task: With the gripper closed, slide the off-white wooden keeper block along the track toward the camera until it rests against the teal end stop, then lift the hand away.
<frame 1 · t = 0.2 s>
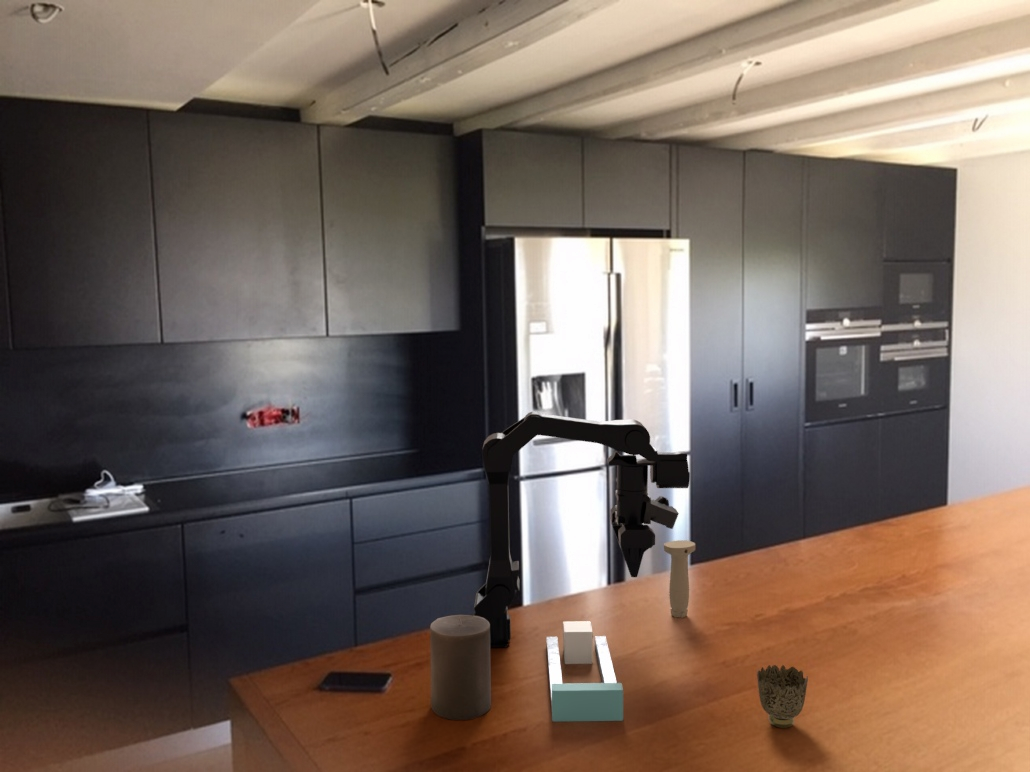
hand: (630, 569, 167), 14 cm above the kitchen island, fingers open, 9 cm apart
handle: (679, 616, 181), on the kitchen island
keeper block: (577, 658, 161), resting in track
track: (580, 677, 153), on the kitchen island
pillar candle: (461, 707, 144), on the kitchen island
cup: (781, 725, 136), on the kitchen island
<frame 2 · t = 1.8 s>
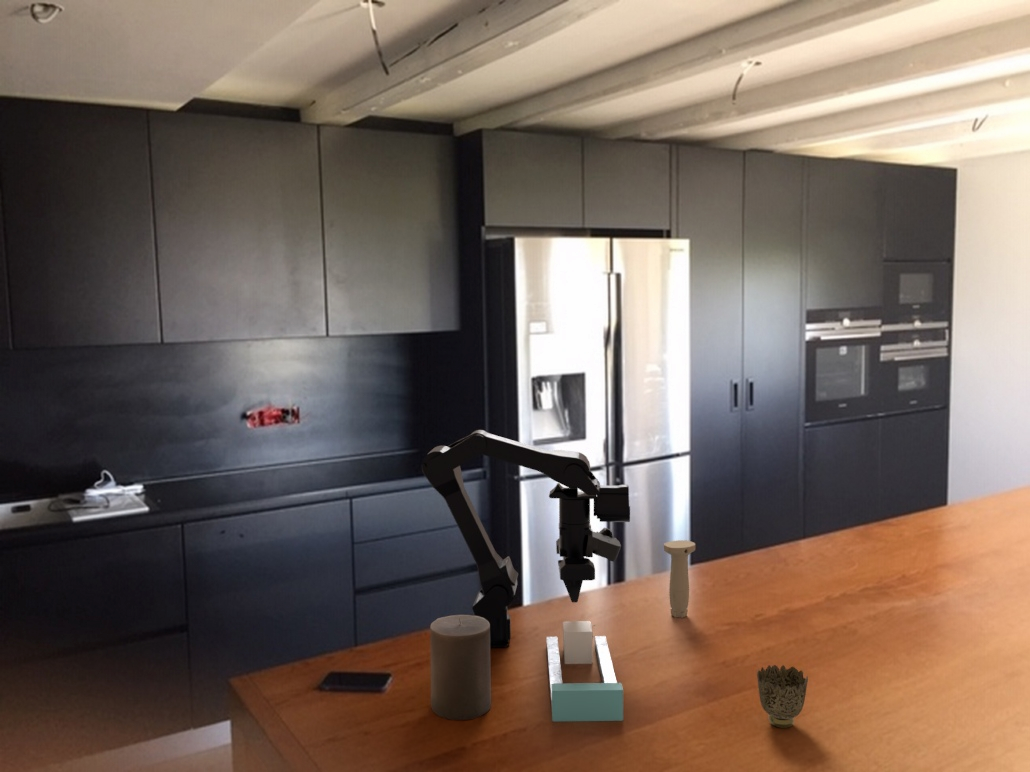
hand: (574, 601, 167), 8 cm above the kitchen island, fingers closed
nothing on the kitchen island moved.
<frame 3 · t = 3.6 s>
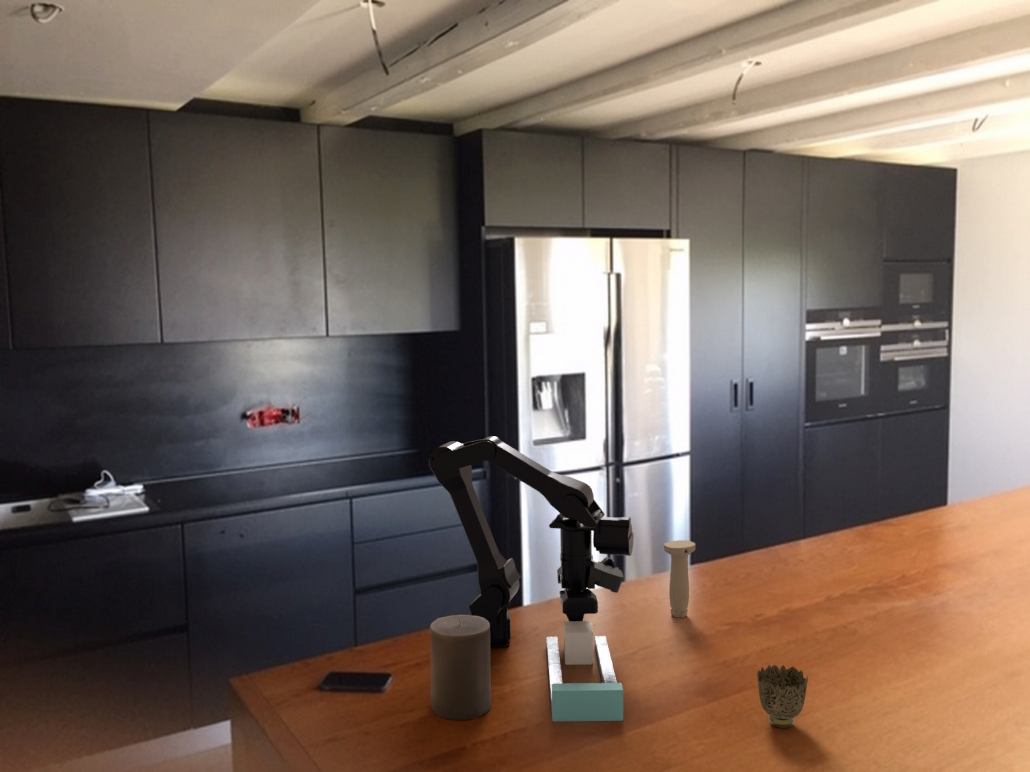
hand: (576, 632, 165), 3 cm above the kitchen island, fingers closed
keeper block: (578, 658, 161), resting in track, touching gripper
everything else where it was.
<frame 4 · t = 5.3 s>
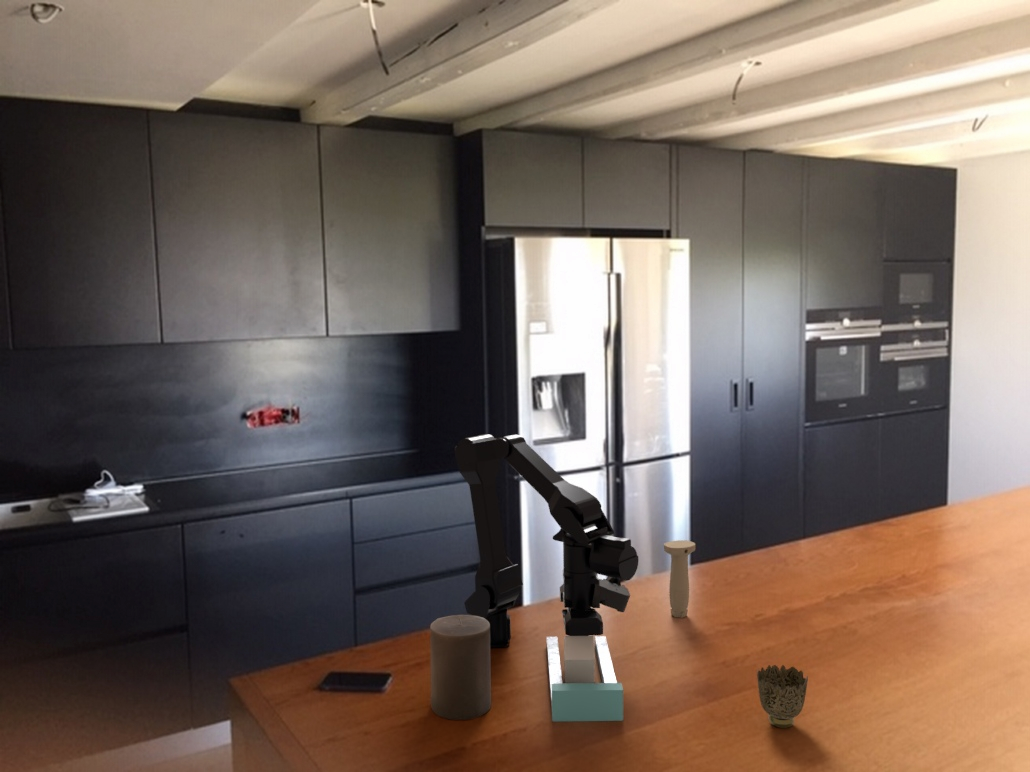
hand: (580, 654, 155), 3 cm above the kitchen island, fingers closed
keeper block: (578, 670, 153), point 1 cm above the kitchen island, tilted 27°, touching gripper
everything else where it was.
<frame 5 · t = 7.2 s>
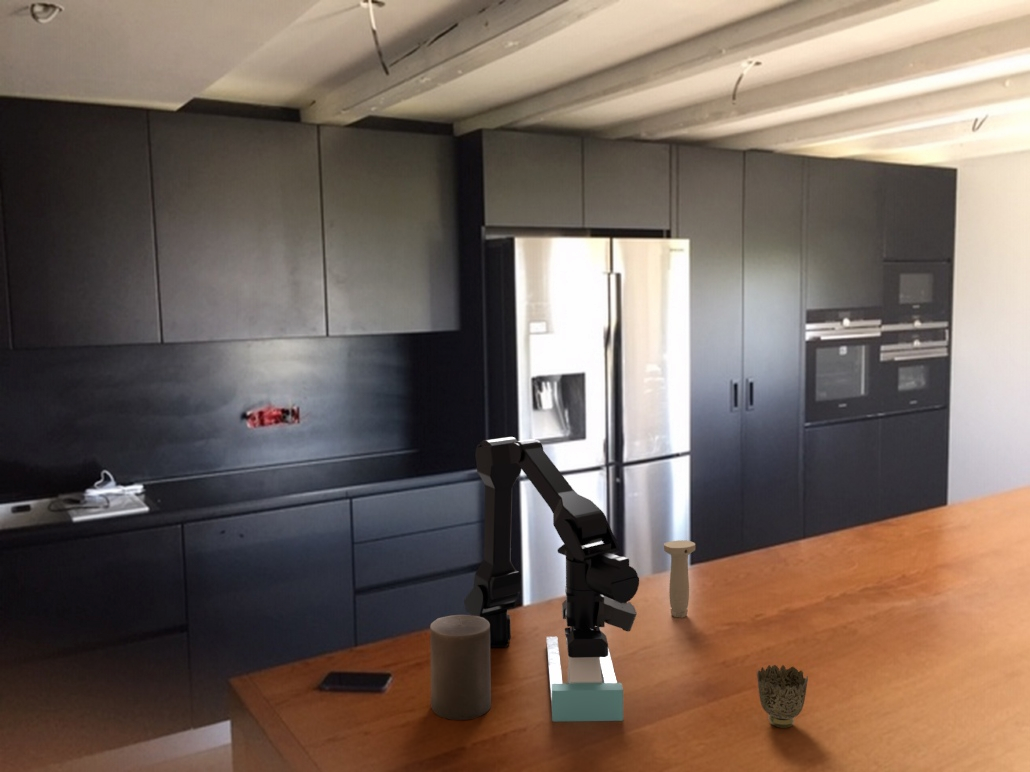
hand: (584, 675, 147), 3 cm above the kitchen island, fingers closed
keeper block: (583, 692, 145), point 1 cm above the kitchen island, tilted 27°, touching gripper, track
everything else where it was.
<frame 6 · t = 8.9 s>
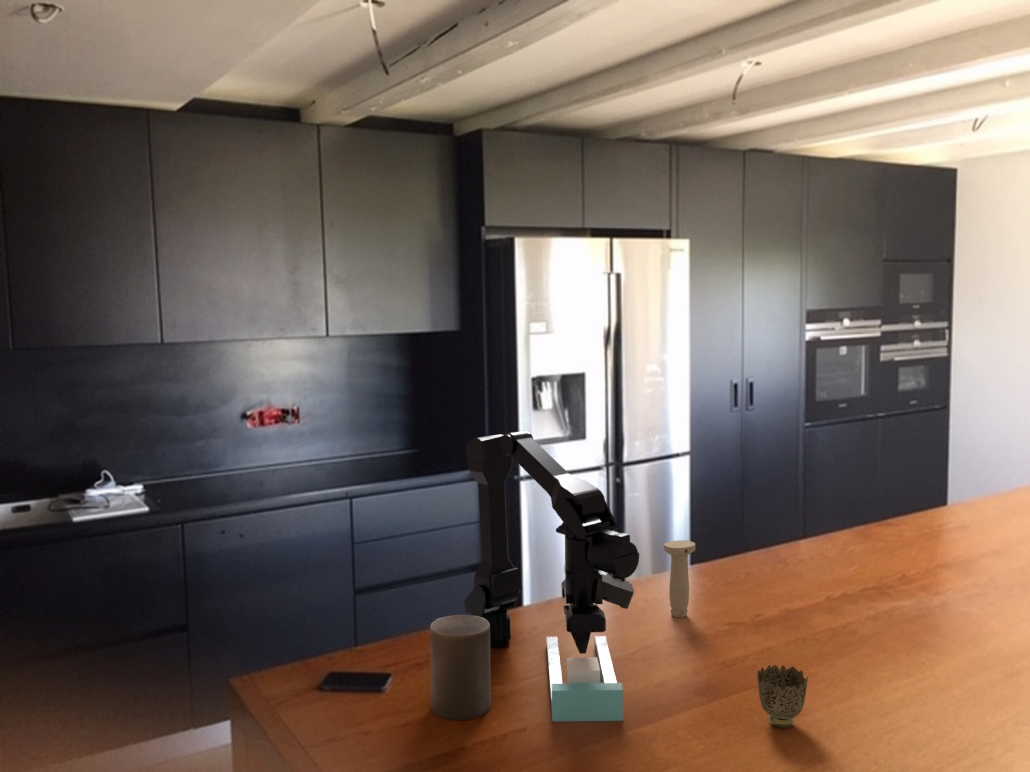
hand: (582, 652, 150), 6 cm above the kitchen island, fingers closed
keeper block: (583, 699, 146), resting in track
everything else where it was.
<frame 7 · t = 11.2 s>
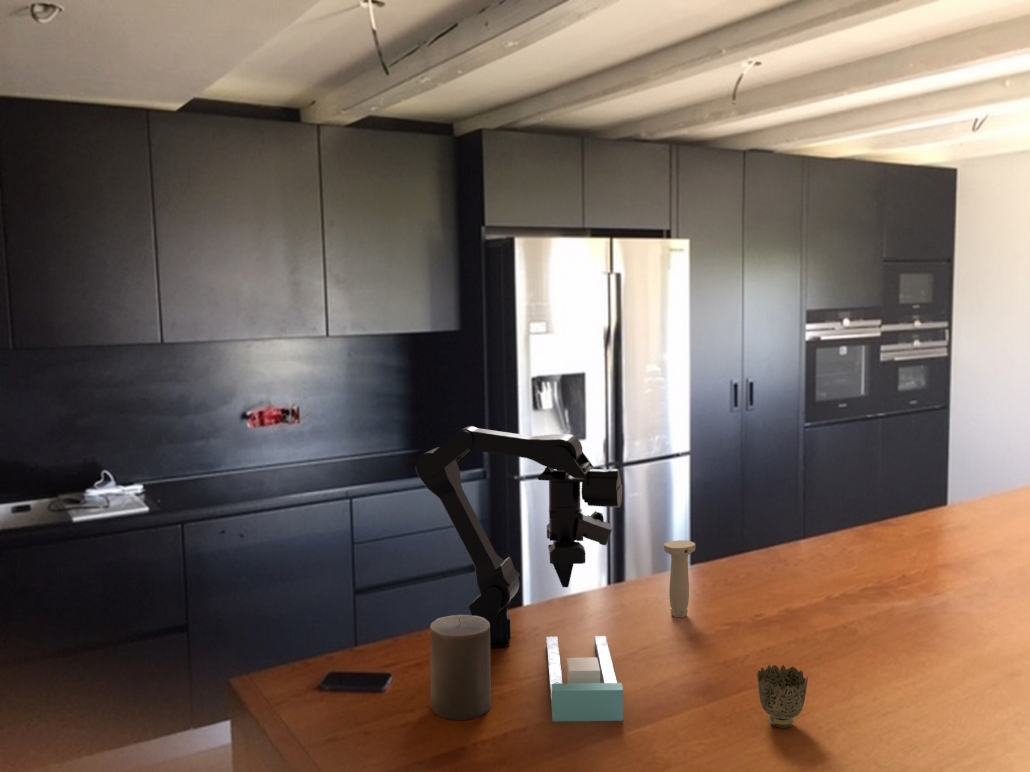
hand: (565, 586, 164), 12 cm above the kitchen island, fingers closed
nothing on the kitchen island moved.
at the end: keeper block 2.1 cm from the target spot, resting in track; keeper block tilted 0°; keeper block moved 15.9 cm from its start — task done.
